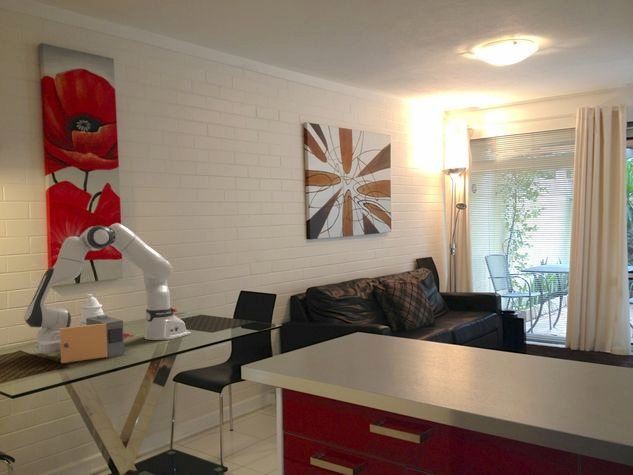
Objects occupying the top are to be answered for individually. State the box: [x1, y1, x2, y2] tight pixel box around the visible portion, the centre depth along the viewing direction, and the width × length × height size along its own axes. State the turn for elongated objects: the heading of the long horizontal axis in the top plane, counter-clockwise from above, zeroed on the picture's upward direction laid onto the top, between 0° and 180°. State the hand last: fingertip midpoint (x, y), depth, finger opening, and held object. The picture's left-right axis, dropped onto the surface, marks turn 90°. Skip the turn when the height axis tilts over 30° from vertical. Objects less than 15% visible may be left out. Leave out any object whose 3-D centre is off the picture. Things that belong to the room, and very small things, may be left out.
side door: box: [60, 323, 107, 364], centre depth 248 cm, size 3×18×14 cm, turn 120°
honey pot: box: [79, 293, 105, 326], centre depth 322 cm, size 13×13×18 cm
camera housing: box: [86, 314, 125, 359], centre depth 263 cm, size 8×19×16 cm, turn 46°
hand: (71, 346), depth 248 cm, fingers closed
